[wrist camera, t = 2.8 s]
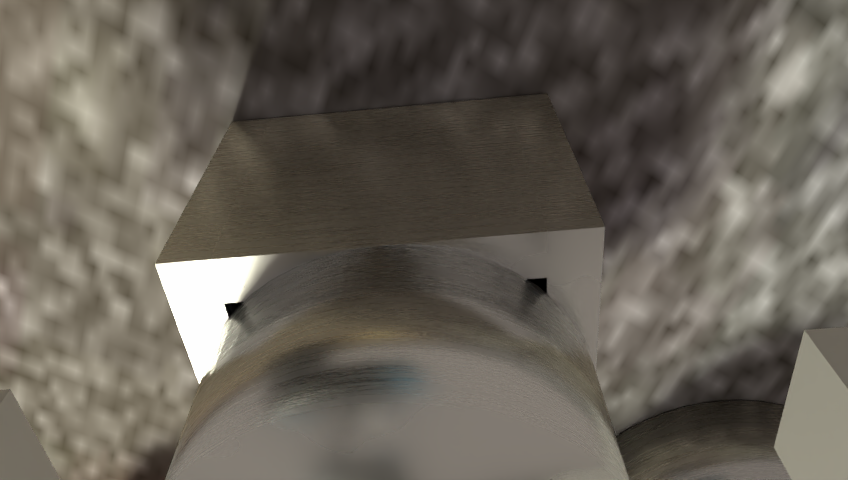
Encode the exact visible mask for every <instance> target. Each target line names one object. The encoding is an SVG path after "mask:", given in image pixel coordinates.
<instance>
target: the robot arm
mask: <svg viewBox="0 0 848 480" xmlns="http://www.w3.org/2000/svg"><path fill="white" fill-rule="evenodd" d="M774 449H775V450H776V452H777V454H778V456H779V458H780V459H781V461H782V463H783V465H784V467H785V468H786V470H787V472H788V474H789V476H790V477H791V479H792V480H848V327H837V328H824V329H810V330H804V333H803V337H802V341H801V344H800V348H799V352H798V356H797V360H796V364H795V367H794V371H793V375H792V379H791V383H790V387H789V391H788V394H787V398H786V402H785V406H784V410H783V414H782V418H781V421H780V425H779V429H778V433H777V437H776V441H775V445H774ZM0 480H61V479H60V477H59V476H58V474H57V472H56V470H55V468H54V467H53V465H52V463H51V461H50V459H49V458H48V456H47V454H46V452H45V451H44V449H43V447H42V445H41V443H40V442H39V440H38V438H37V436H36V434H35V433H34V431H33V429H32V427H31V426H30V424H29V422H28V420H27V418H26V417H25V415H24V413H23V411H22V409H21V408H20V406H19V404H18V402H17V401H16V399H15V397H14V395H13V393H12V392H11V390H10V389H9V390H0Z"/></svg>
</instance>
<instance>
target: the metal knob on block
mask: <svg viewBox="0 0 848 480" xmlns="http://www.w3.org/2000/svg"><path fill="white" fill-rule="evenodd" d="M604 236H605V226H604V223H603V221H602V219H601V216H600V214H599V212H598V210H597V207H596V205H595V203H594V200H593V198H592V196H591V193H590V191H589V189H588V186H587V184H586V182H585V179H584V177H583V175H582V173H581V170H580V168H579V166H578V163H577V161H576V159H575V156H574V154H573V152H572V149H571V147H570V145H569V142H568V140H567V138H566V136H565V133H564V131H563V129H562V126H561V124H560V122H559V119H558V117H557V115H556V112H555V110H554V108H553V106H552V103H551V101H550V99H549V96H548V94H536V95H525V96H514V97H503V98H491V99H480V100H469V101H458V102H447V103H436V104H425V105H414V106H403V107H392V108H381V109H370V110H359V111H348V112H337V113H325V114H314V115H303V116H292V117H281V118H270V119H259V120H248V121H237V122H231V124H230V126H229V128H228V130H227V131H226V133H225V135H224V137H223V139H222V141H221V143H220V144H219V146H218V148H217V150H216V152H215V154H214V156H213V157H212V159H211V161H210V163H209V165H208V167H207V168H206V170H205V172H204V174H203V176H202V178H201V180H200V181H199V183H198V185H197V187H196V189H195V191H194V193H193V194H192V196H191V198H190V200H189V202H188V204H187V205H186V207H185V209H184V211H183V213H182V215H181V217H180V218H179V220H178V222H177V224H176V226H175V228H174V230H173V231H172V233H171V235H170V237H169V239H168V241H167V242H166V244H165V246H164V248H163V250H162V252H161V254H160V255H159V257H158V259H157V261H156V263H155V266H156V269H157V271H158V274H159V277H160V279H161V282H162V285H163V287H164V290H165V293H166V295H167V298H168V301H169V304H170V306H171V309H172V312H173V314H174V317H175V320H176V322H177V325H178V328H179V330H180V333H181V336H182V338H183V341H184V344H185V346H186V349H187V352H188V354H189V357H190V360H191V362H192V365H193V368H194V371H195V373H196V376H197V379H198V381H199V386H198V389H197V392H196V395H195V397H194V400H193V403H192V406H191V409H190V411H189V414H188V417H187V420H186V423H185V425H184V428H183V431H182V434H181V437H180V439H179V442H178V445H177V448H176V450H175V453H174V456H173V459H172V462H171V464H170V467H169V470H168V473H167V476H166V478H165V480H629V477H628V474H627V471H626V468H625V464H624V461H623V458H622V455H621V451H620V448H619V445H618V442H617V439H616V435H615V432H614V429H613V426H612V422H611V419H610V416H609V413H608V410H607V406H606V403H605V400H604V397H603V393H602V390H601V387H600V384H599V380H598V377H597V374H596V364H597V348H598V332H599V316H600V300H601V284H602V268H603V252H604Z"/></svg>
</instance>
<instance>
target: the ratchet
mask: <svg viewBox="0 0 848 480" xmlns="http://www.w3.org/2000/svg"><path fill="white" fill-rule="evenodd" d="M783 410H784V406H782V405H779V404H773V403H767V402H761V401H747V400H734V401H717V402H709V403H702V404H697V405H692V406H687V407H683V408H679V409H676V410H673V411H669V412H666V413H663V414H661V415H658V416H655V417H653V418H650V419H648V420H646V421H644V422H642V423H640V424H638V425H636V426H634V427H632V428H630V429H628V430H627V431H625V432H623V433H622V434H620V435H619V436H617V437H616V439H617V442H618V445H619V448H620V451H621V455H622V458H623V461H624V464H625V468H626V471H627V474H628V477H629V480H792V479H791V477H790V476H789V474H788V472H787V470H786V468H785V467H784V465H783V463H782V461H781V459H780V458H779V456H778V454H777V452H776V450H775V449H774V445H775V441H776V437H777V433H778V429H779V425H780V421H781V418H782V414H783Z"/></svg>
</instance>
